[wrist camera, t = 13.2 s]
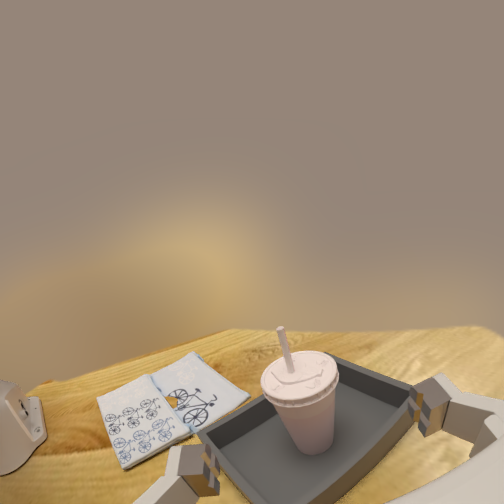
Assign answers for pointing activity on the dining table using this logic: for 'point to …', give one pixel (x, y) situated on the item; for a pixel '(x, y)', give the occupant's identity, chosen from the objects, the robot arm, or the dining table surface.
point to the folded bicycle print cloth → (166, 408)
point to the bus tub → (320, 465)
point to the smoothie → (303, 395)
